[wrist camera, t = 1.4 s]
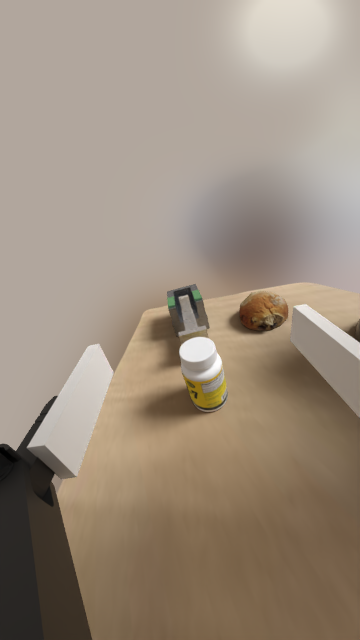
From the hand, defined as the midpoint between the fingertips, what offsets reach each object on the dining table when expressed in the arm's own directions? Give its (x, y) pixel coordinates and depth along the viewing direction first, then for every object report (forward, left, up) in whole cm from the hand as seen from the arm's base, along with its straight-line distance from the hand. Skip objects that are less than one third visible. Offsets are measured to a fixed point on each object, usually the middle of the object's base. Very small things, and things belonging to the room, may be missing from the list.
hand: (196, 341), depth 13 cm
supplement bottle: (-2, -9, -19) cm, 21 cm away
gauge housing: (-8, -31, -19) cm, 37 cm away
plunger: (-6, -22, -18) cm, 28 cm away
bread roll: (-22, -21, -19) cm, 35 cm away
